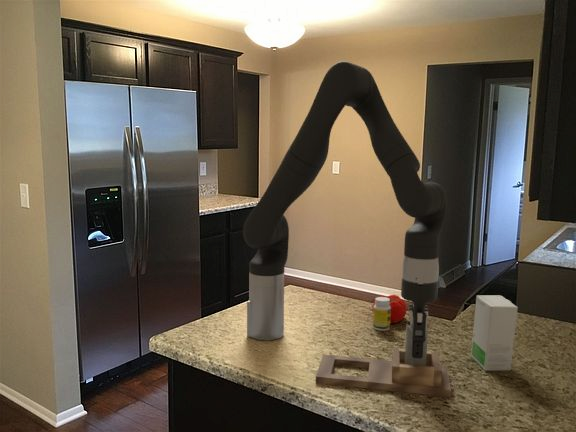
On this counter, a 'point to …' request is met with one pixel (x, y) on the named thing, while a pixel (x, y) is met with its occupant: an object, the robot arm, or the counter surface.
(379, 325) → the supplement bottle
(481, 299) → the skincare box
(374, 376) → the socket board
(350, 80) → the robot arm
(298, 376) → the counter surface
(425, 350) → the grey hollow tube
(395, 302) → the tomato
